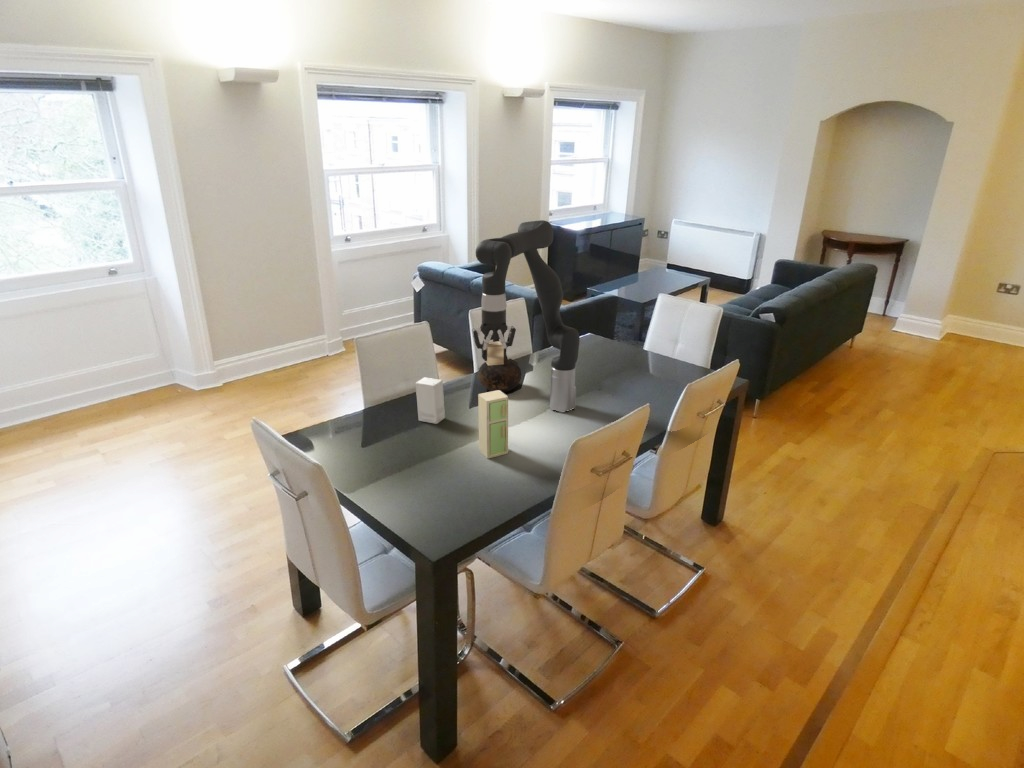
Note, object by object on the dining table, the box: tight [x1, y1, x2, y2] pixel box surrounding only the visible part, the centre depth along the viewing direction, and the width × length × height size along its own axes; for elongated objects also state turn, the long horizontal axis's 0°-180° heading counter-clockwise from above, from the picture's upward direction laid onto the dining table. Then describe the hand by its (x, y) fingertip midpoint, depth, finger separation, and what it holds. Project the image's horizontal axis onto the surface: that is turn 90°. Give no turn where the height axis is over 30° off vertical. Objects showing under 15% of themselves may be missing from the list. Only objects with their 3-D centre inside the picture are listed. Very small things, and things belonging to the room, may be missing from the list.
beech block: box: [484, 341, 504, 366], centre depth 196 cm, size 5×5×6 cm
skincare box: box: [415, 376, 446, 425], centre depth 230 cm, size 8×7×16 cm
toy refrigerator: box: [477, 390, 509, 459], centre depth 205 cm, size 8×7×21 cm
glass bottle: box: [477, 334, 522, 393], centre depth 257 cm, size 18×18×28 cm
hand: (493, 359), depth 196 cm, fingers closed on beech block, 5 cm apart
